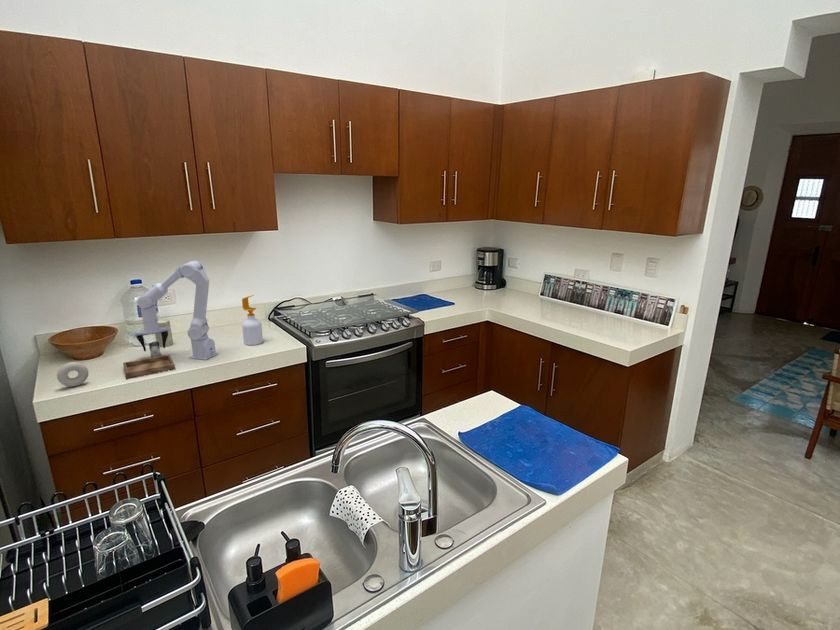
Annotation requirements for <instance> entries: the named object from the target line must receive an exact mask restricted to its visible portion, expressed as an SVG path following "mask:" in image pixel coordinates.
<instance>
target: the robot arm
mask: <svg viewBox="0 0 840 630" xmlns="http://www.w3.org/2000/svg"><path fill="white" fill-rule="evenodd" d="M184 278H186V279H187V280H189V281H191V282H192V283H193V284H195V294H194V306H193V315H192V320H191V322H190V326H189V328H188V330H187V336H188V337H189V338H190V344H191V351H192V354H191V355H190V356H188V359H197V360H204V361H205V360H208V359H210V358H212V357H214V356H216V355H218V353H217V351H216V343H215V340H214V339H213V338H211V337H209V335H208V333H209V332H208V331H209V329H210V326H209V325H208V319H207V317H206V316H207V308H208V301H209V300H208V297H209V289H210V287H209V286H210V280H209V279H210V278H209V277H208V274H207V273H206V271H205V266H204V265H203V264H202V262H199V261H198V260H196V259H195V260H191V261H189V262H187V263H183V264H181V266H179V267H178V268H176V269H175V270H173V271H172V272H171V273H170V275H168V276H167V277H166V278H165V279H164V280H163V281H162V282H157V283H153V284H152V285H151V288H150V289H148V290H146V291H145V292H144V295H141V296H139V297H138V298H137V301H136V304H137V306H138V307H139V308H140V311H141V312H140V313H141V319H142V325H143V329H142V330H137V331H132V334H133V338H136V339H137V340H138V342H139V343H140V345H141V346H142V349H143V351H144V352H147V349H146V345H145V339H144V337H145V336H149V335H155V334H157V333H161V336H162V344H163V346H162V348H163V349H166V346H165V343H166V339H167V337H168V332H170V327H171V326H170V327H164V328H159V327H158V321H159V319H158V314H157V308H156V304H157V303H158V301H160V300H161V299H162V298H163V297H164V296H165V295H167V294H168V292H169V291H168V289H169V287H171V286H172V285H173V284H174V283H176V282H177V281H178V280H179V279H184Z"/></svg>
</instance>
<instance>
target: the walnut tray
mask: <svg viewBox="0 0 840 630" xmlns="http://www.w3.org/2000/svg"><path fill="white" fill-rule="evenodd" d="M122 364H123V372H124V375H125V379H126V380H128V379H129V378H130V379H134V377H135V378H138V377H139V376H140V377H144V375H145V376H149V374H150V375H154V373H155V374H158V372H160V373H164V372H163V371H165V372H169V371H168V370H170V371H174V370H173V369H175V370H176V366H175V365H176V364H175V363H174V360H173V359H172V356H171V354H164V355H161V356H158V357H153V358H151V357H148V358H142V359H136V360H131V361H126V362H123V363H122ZM130 379H129V380H130Z"/></svg>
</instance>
